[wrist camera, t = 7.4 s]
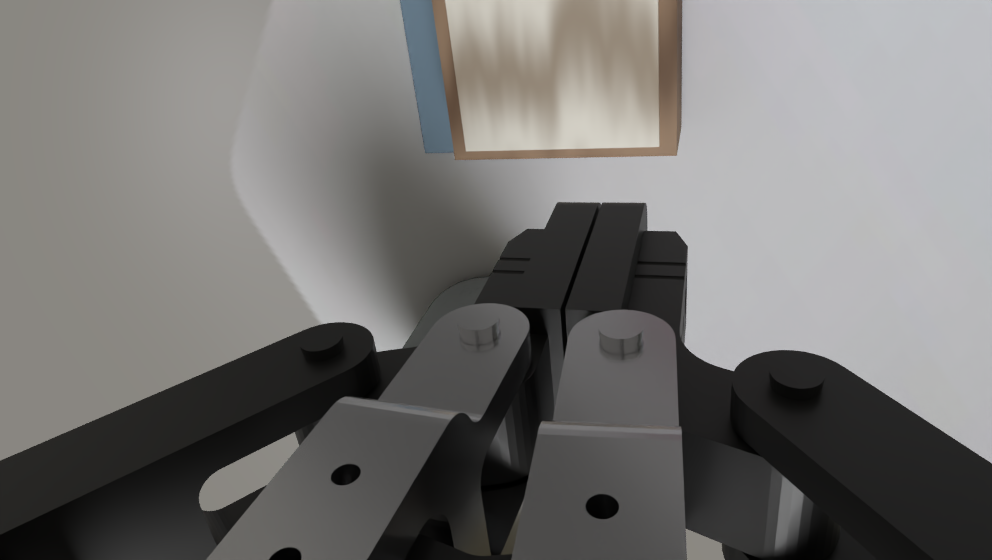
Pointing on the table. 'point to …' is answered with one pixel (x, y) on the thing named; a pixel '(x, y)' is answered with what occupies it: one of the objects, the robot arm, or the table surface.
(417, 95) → the rubber mat
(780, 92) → the table surface
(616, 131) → the wooden block
